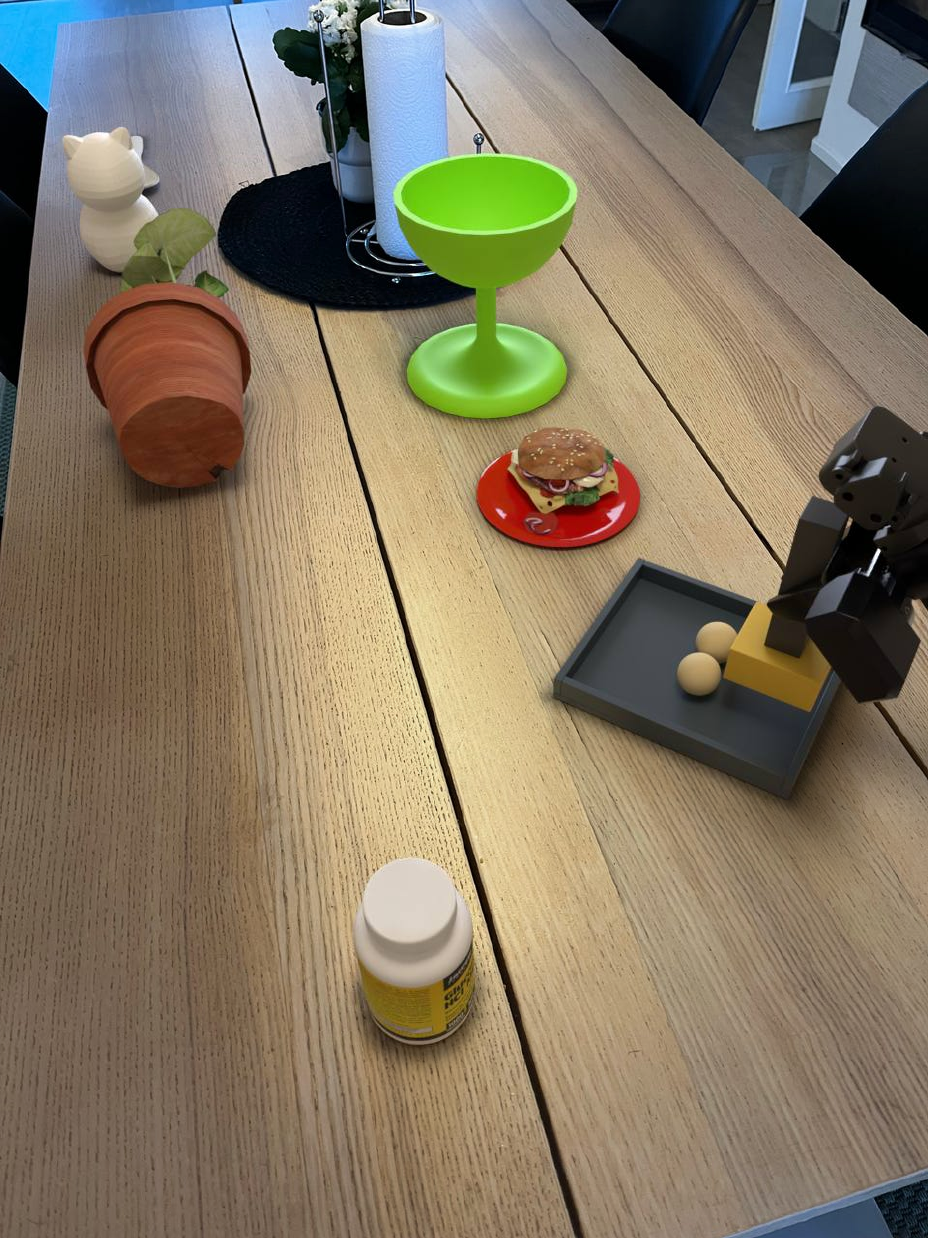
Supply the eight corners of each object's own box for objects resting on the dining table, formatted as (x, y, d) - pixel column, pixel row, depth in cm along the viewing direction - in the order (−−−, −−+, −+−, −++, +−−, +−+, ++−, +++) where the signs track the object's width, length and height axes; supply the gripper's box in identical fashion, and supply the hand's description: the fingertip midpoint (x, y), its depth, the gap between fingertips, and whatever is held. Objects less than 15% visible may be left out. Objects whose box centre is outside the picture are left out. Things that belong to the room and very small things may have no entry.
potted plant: (291, 496, 91) (235, 280, 113) (253, 357, 79) (199, 145, 100) (116, 538, 89) (92, 311, 111) (51, 402, 77) (38, 176, 98)
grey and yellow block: (833, 662, 70) (889, 505, 59) (809, 712, 67) (865, 556, 57) (748, 630, 72) (789, 473, 62) (722, 678, 69) (760, 521, 59)
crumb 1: (737, 645, 75) (744, 617, 73) (732, 675, 73) (740, 647, 71) (695, 637, 76) (701, 609, 73) (690, 667, 74) (696, 639, 71)
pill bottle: (466, 1056, 56) (461, 968, 48) (356, 1039, 56) (332, 949, 48) (482, 949, 60) (480, 851, 52) (379, 935, 61) (361, 836, 53)
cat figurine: (95, 288, 115) (52, 152, 104) (85, 239, 123) (44, 108, 112) (175, 273, 117) (142, 138, 106) (160, 226, 125) (127, 96, 114)
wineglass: (549, 428, 95) (557, 243, 82) (385, 405, 98) (368, 224, 85) (580, 338, 105) (593, 161, 92) (432, 319, 108) (423, 146, 95)
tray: (851, 657, 75) (858, 638, 73) (786, 800, 66) (793, 781, 65) (635, 576, 81) (638, 557, 79) (552, 697, 73) (553, 678, 71)
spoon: (130, 200, 130) (127, 187, 129) (119, 139, 144) (116, 126, 142) (163, 195, 131) (160, 182, 129) (149, 134, 144) (146, 122, 143)
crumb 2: (719, 676, 73) (726, 648, 71) (715, 708, 71) (721, 680, 69) (677, 668, 74) (683, 640, 71) (671, 699, 72) (677, 671, 69)
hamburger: (451, 470, 91) (449, 414, 86) (590, 430, 94) (595, 374, 90) (519, 570, 82) (521, 513, 77) (670, 521, 85) (680, 464, 81)
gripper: (988, 310, 56) (759, 419, 68) (896, 501, 46) (643, 590, 58) (1083, 467, 59) (847, 545, 71) (1018, 682, 48) (753, 731, 60)
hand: (778, 595), depth 65 cm, fingers closed on grey and yellow block, 2 cm apart
